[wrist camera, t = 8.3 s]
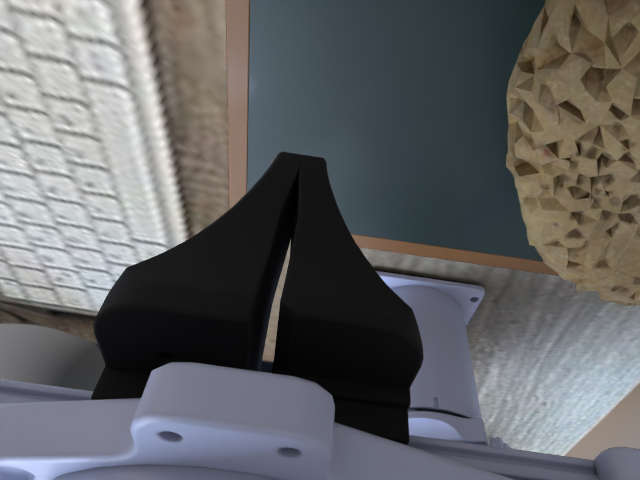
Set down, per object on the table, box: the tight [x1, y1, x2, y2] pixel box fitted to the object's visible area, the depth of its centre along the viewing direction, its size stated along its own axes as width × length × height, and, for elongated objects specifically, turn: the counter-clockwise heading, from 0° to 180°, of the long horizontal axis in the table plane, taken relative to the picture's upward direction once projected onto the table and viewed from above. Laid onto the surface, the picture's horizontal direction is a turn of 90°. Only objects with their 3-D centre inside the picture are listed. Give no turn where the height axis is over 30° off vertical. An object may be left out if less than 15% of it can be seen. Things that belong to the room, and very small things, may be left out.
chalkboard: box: [226, 0, 559, 276], centre depth 19 cm, size 26×26×1 cm
